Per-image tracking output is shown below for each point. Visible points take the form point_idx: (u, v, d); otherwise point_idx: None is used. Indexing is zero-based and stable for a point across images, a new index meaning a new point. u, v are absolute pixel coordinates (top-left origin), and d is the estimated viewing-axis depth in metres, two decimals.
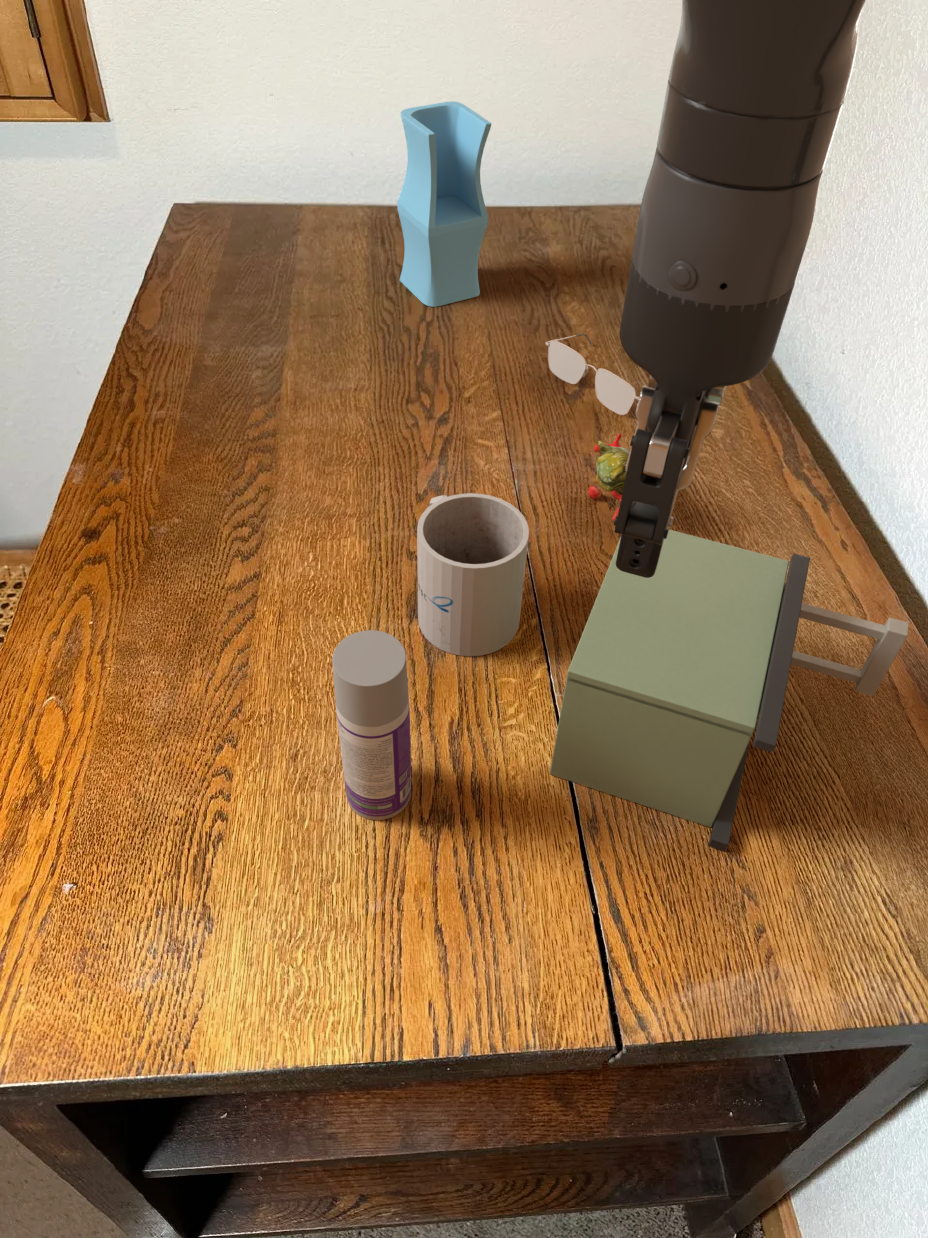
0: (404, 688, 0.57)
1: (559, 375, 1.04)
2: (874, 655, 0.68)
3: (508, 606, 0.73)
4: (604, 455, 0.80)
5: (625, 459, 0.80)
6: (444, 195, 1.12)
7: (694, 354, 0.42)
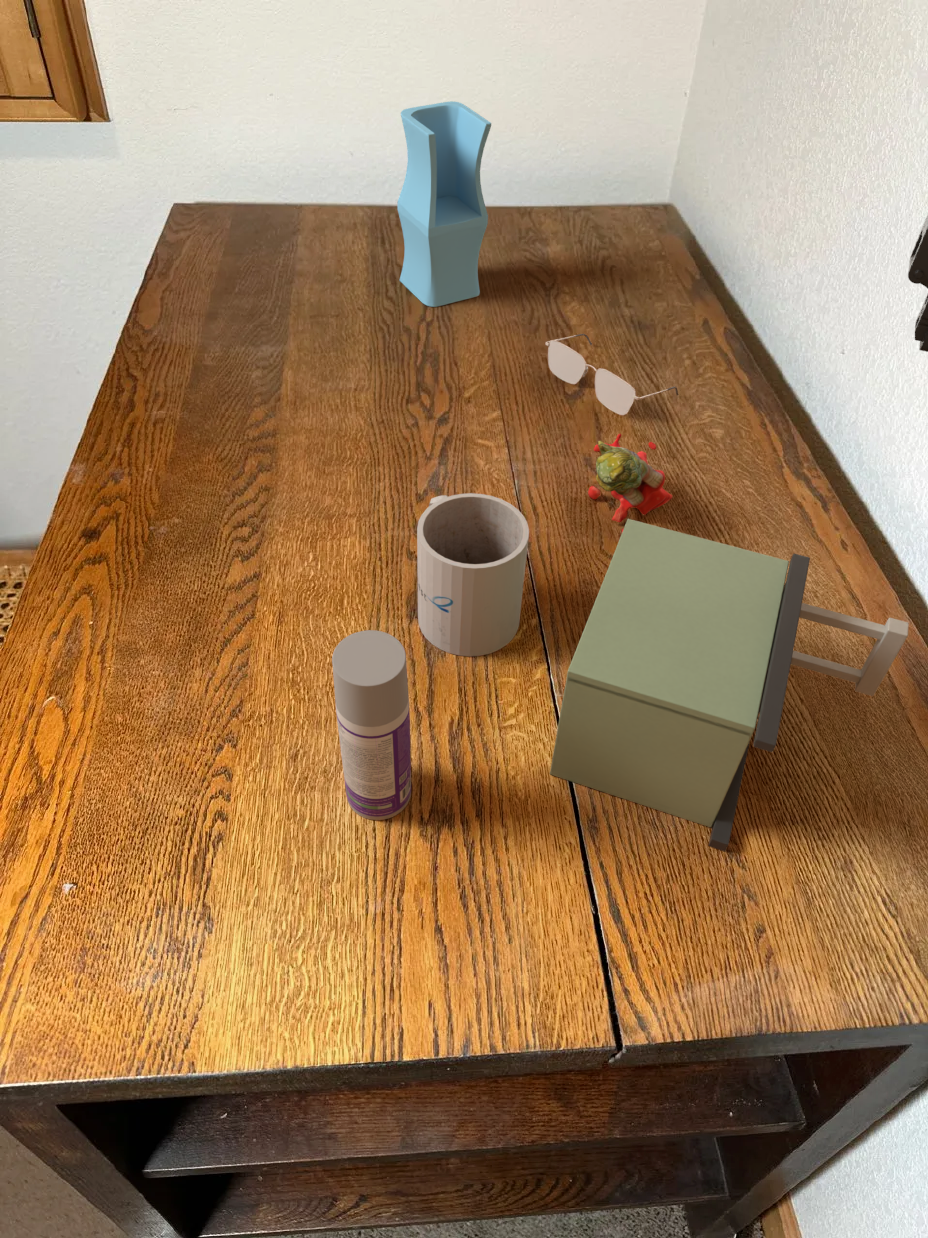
0: (404, 688, 0.57)
1: (559, 375, 1.04)
2: (874, 655, 0.68)
3: (508, 606, 0.73)
4: (604, 455, 0.80)
5: (625, 459, 0.80)
6: (444, 195, 1.12)
7: None
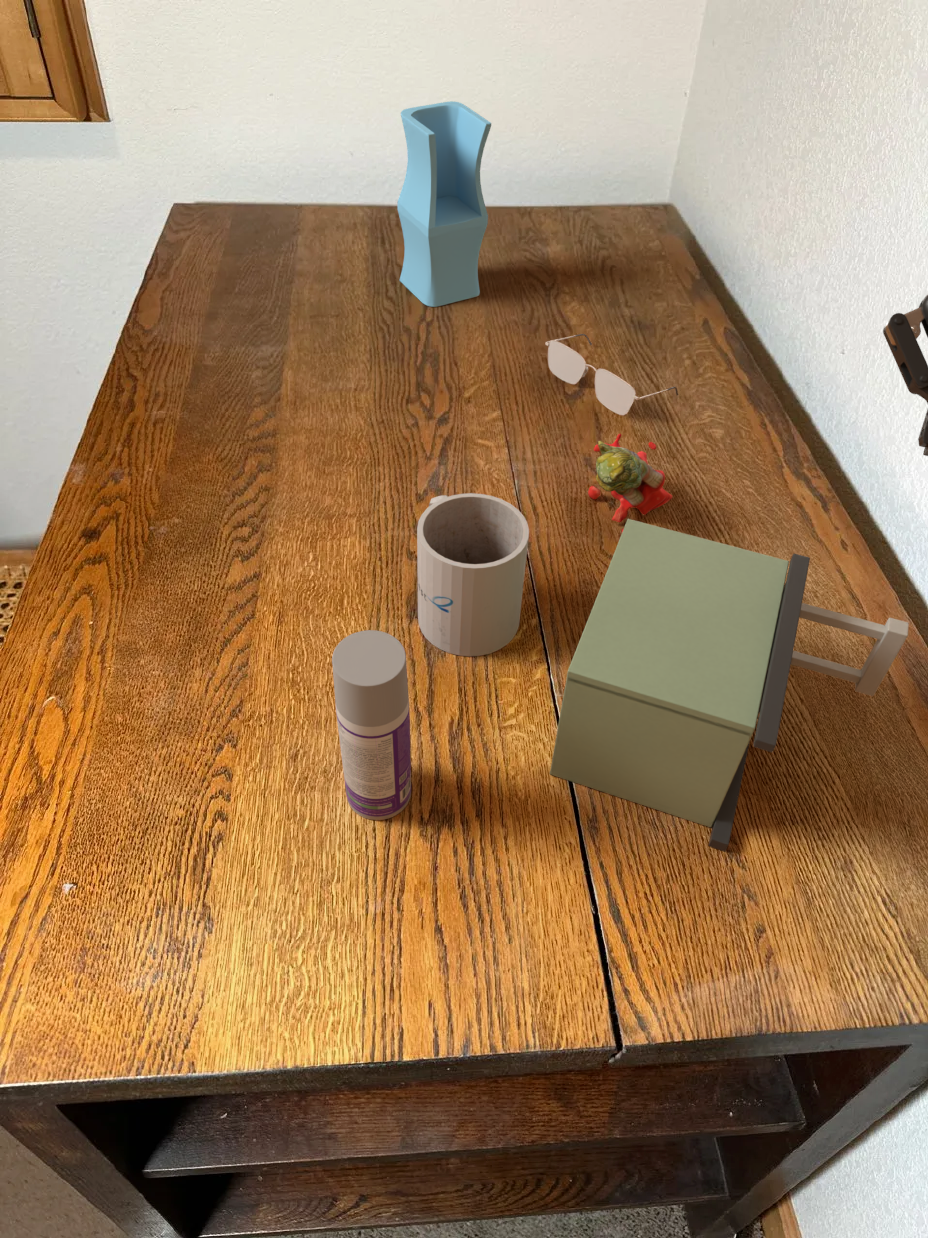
0: (404, 688, 0.57)
1: (559, 375, 1.04)
2: (874, 655, 0.68)
3: (508, 606, 0.73)
4: (604, 455, 0.80)
5: (625, 459, 0.80)
6: (444, 195, 1.12)
7: None
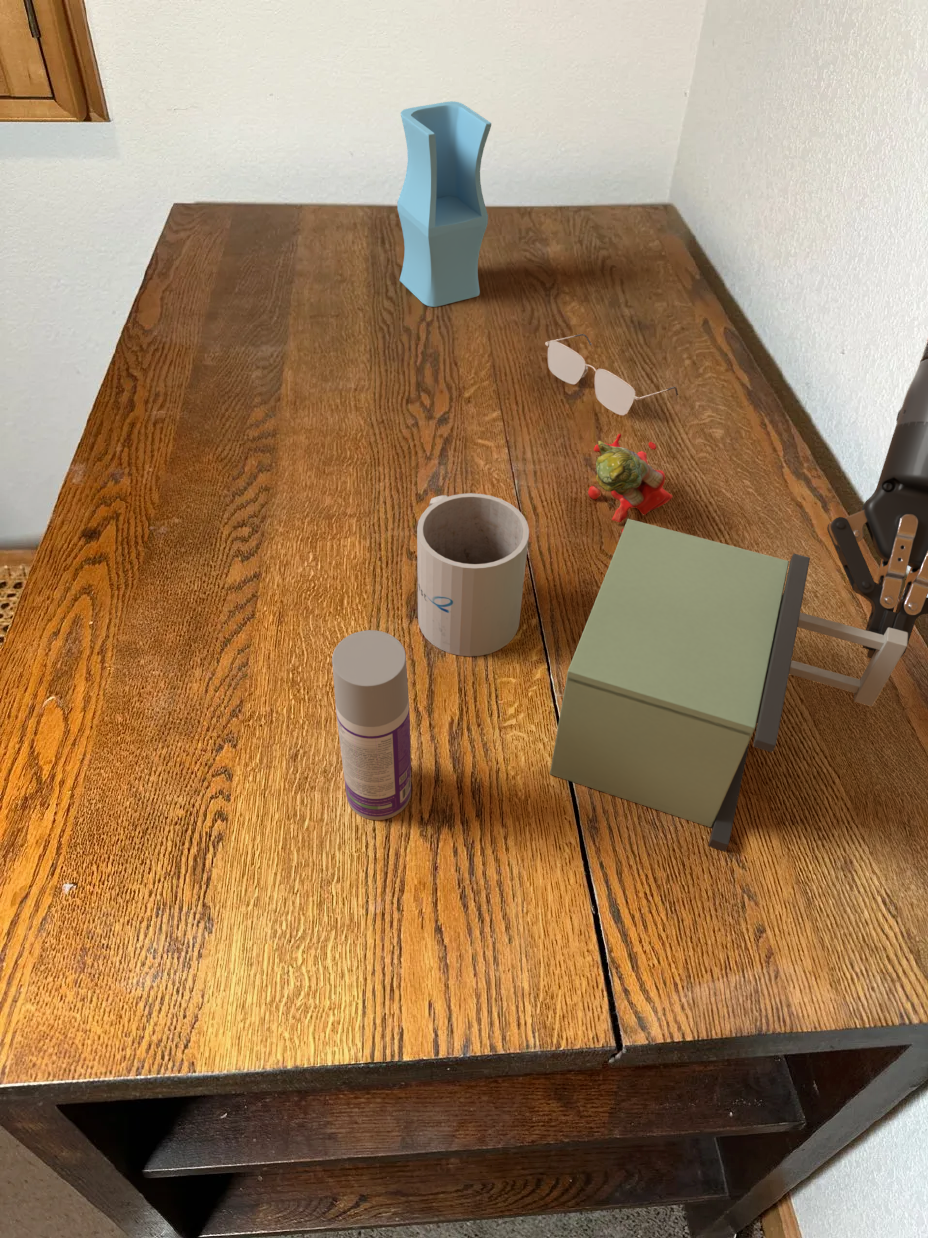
0: (404, 688, 0.57)
1: (559, 376, 1.04)
2: (873, 665, 0.67)
3: (508, 606, 0.73)
4: (604, 455, 0.80)
5: (625, 459, 0.80)
6: (444, 195, 1.12)
7: (887, 457, 0.69)
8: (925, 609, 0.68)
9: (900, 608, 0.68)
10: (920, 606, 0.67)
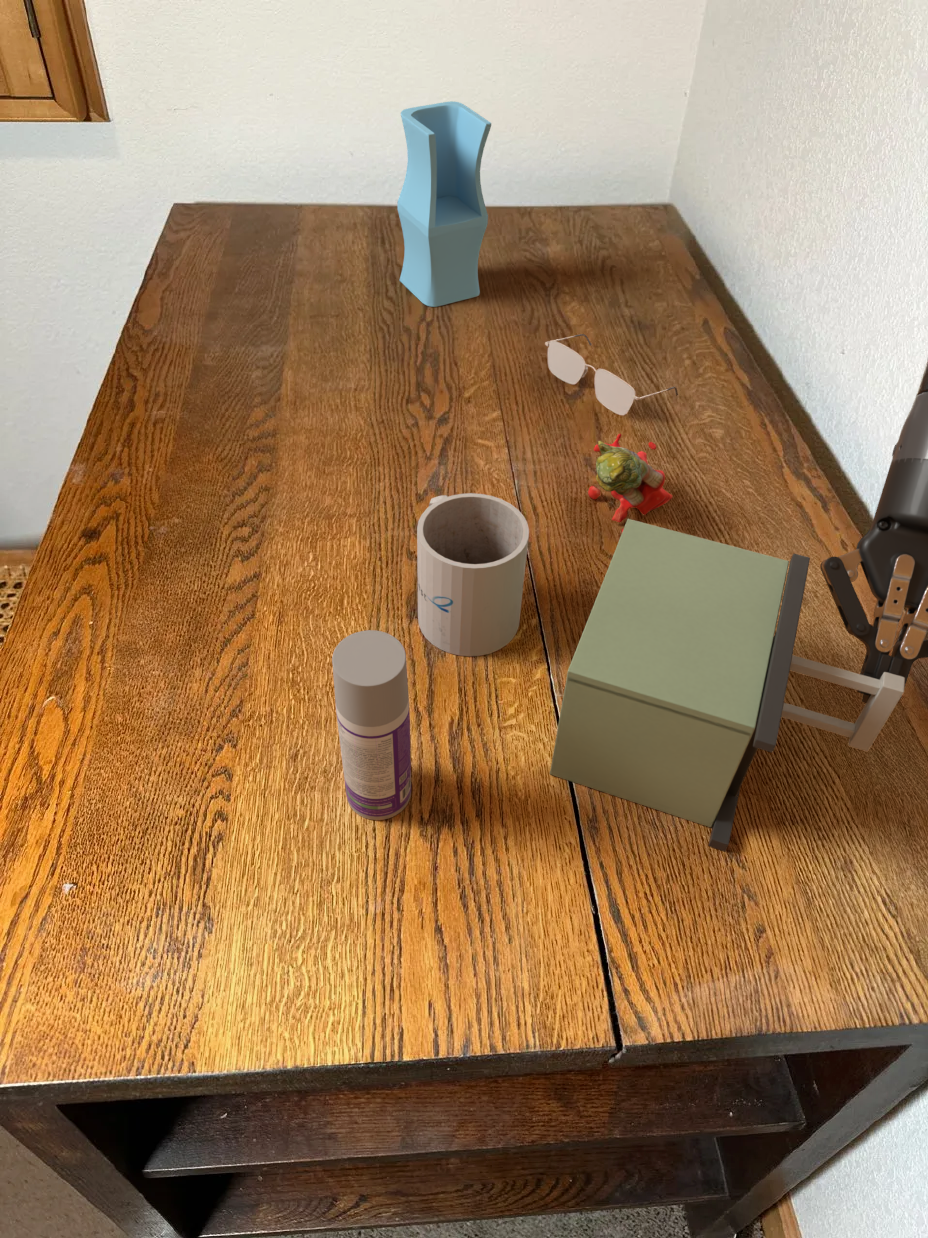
0: (404, 688, 0.57)
1: (559, 376, 1.04)
2: (868, 710, 0.64)
3: (508, 606, 0.73)
4: (604, 455, 0.80)
5: (625, 459, 0.80)
6: (444, 195, 1.12)
7: (883, 494, 0.66)
8: (922, 653, 0.65)
9: (896, 651, 0.65)
10: (917, 650, 0.65)
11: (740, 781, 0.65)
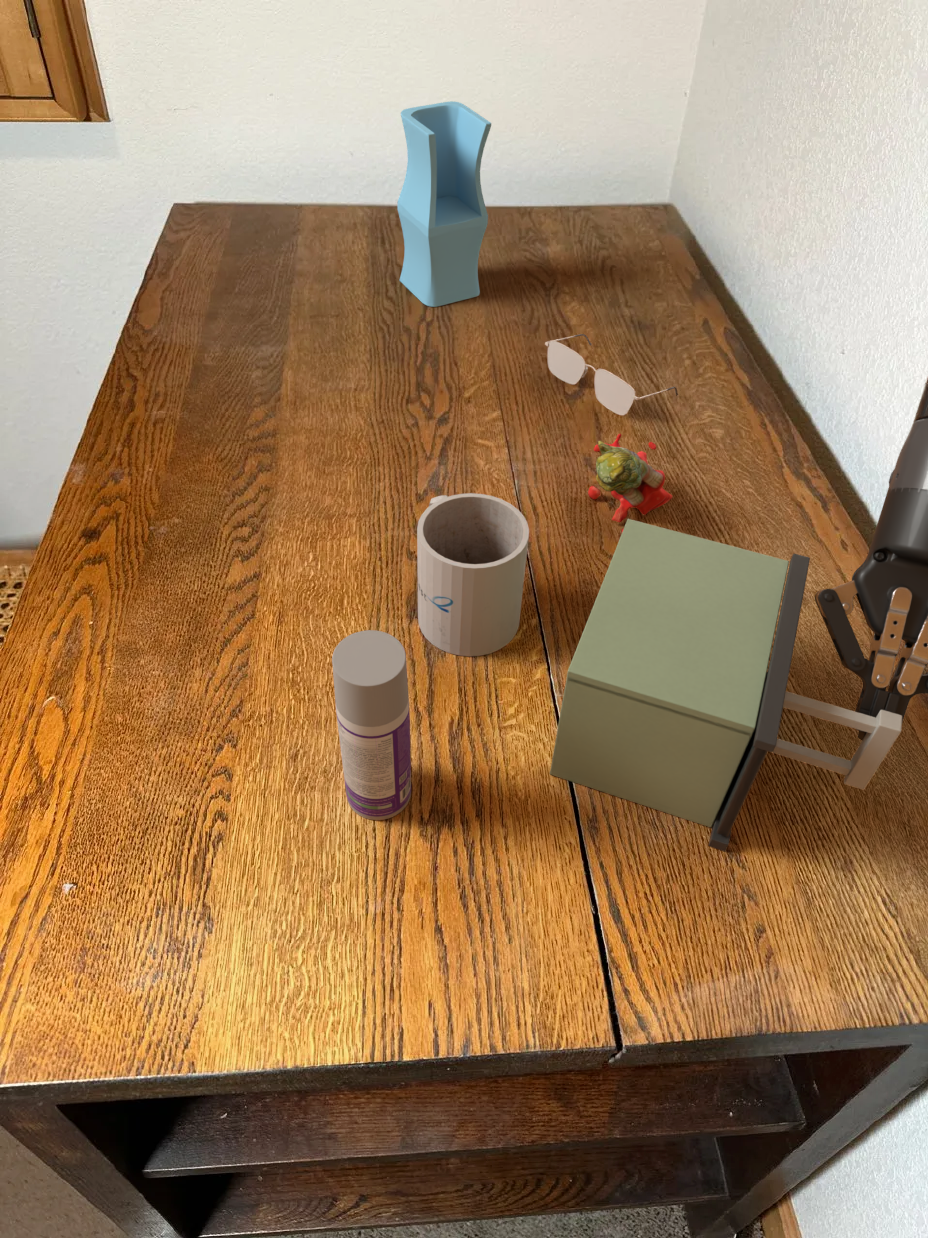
0: (404, 688, 0.57)
1: (559, 376, 1.04)
2: (864, 749, 0.62)
3: (508, 606, 0.73)
4: (604, 455, 0.80)
5: (625, 459, 0.80)
6: (444, 195, 1.12)
7: (879, 523, 0.64)
8: (920, 688, 0.63)
9: (893, 687, 0.63)
10: (914, 686, 0.62)
11: (731, 821, 0.62)
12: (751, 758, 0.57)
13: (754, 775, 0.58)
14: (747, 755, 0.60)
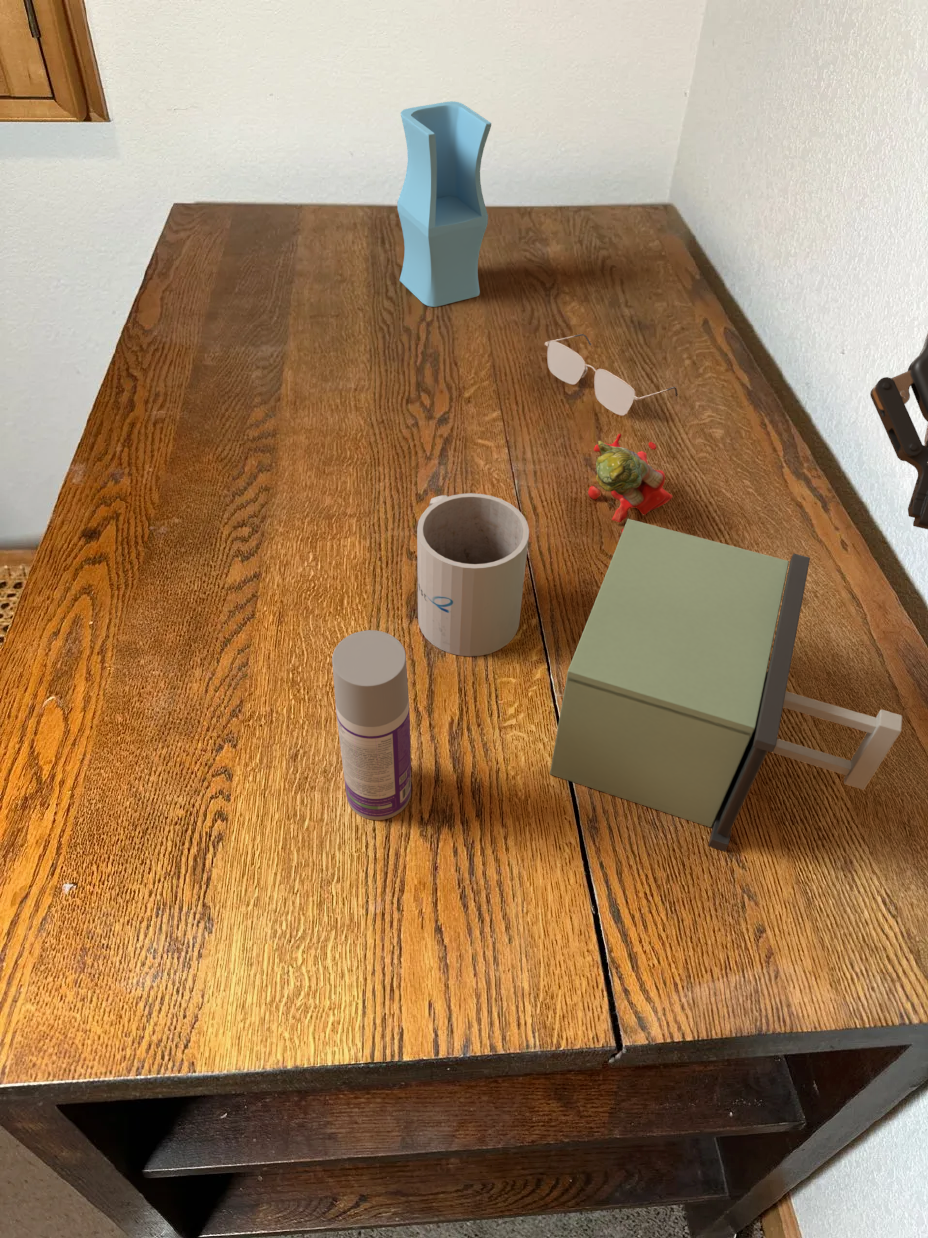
0: (404, 688, 0.57)
1: (558, 376, 1.04)
2: (864, 749, 0.62)
3: (508, 606, 0.73)
4: (604, 455, 0.80)
5: (625, 459, 0.80)
6: (444, 195, 1.12)
7: None
8: None
9: None
10: None
11: (731, 821, 0.62)
12: (751, 758, 0.57)
13: (754, 775, 0.58)
14: (747, 755, 0.60)
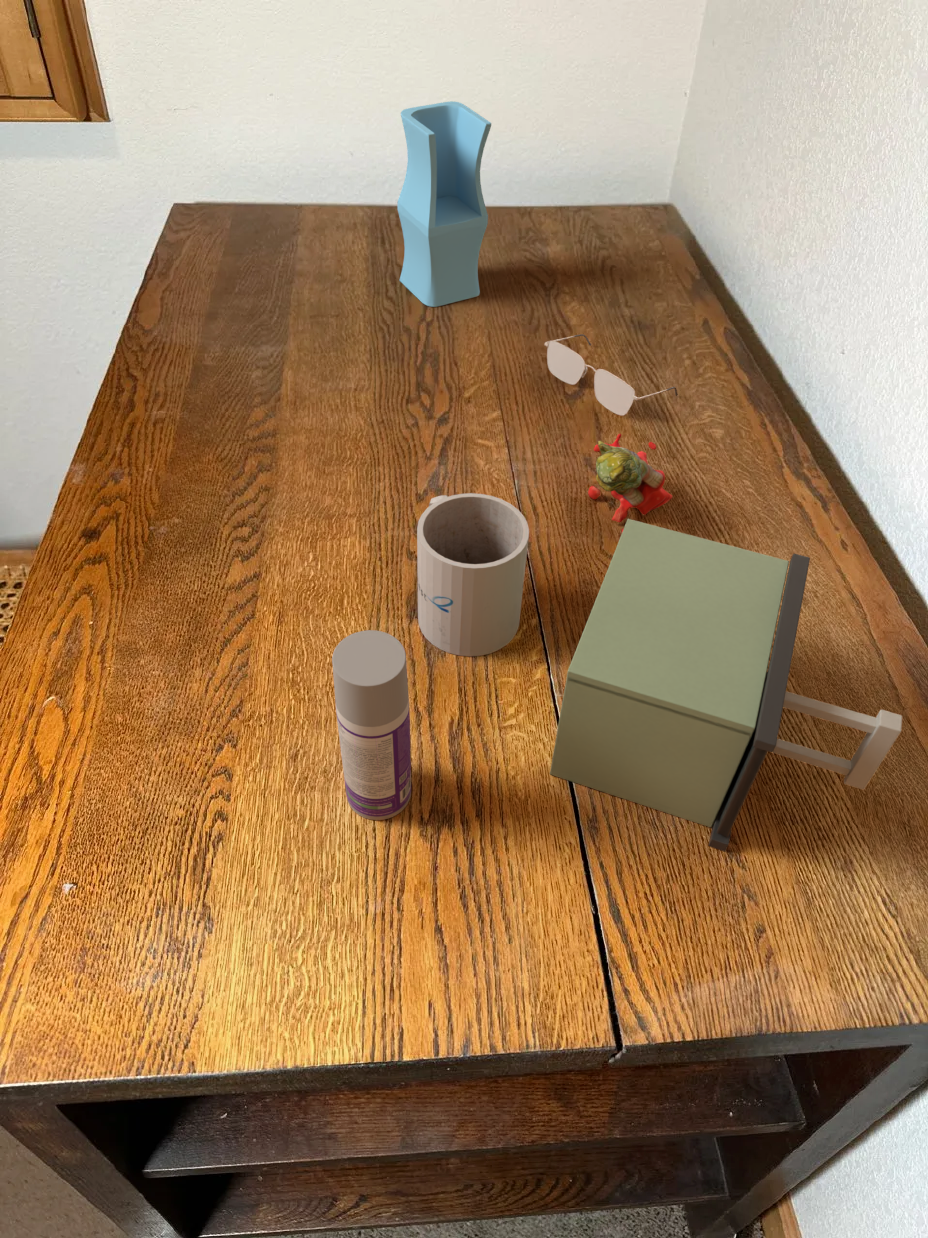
0: (404, 688, 0.57)
1: (558, 376, 1.04)
2: (864, 749, 0.62)
3: (508, 606, 0.73)
4: (604, 455, 0.80)
5: (625, 459, 0.80)
6: (444, 195, 1.12)
7: None
8: None
9: None
10: None
11: (731, 821, 0.62)
12: (751, 758, 0.57)
13: (754, 775, 0.58)
14: (747, 755, 0.60)
